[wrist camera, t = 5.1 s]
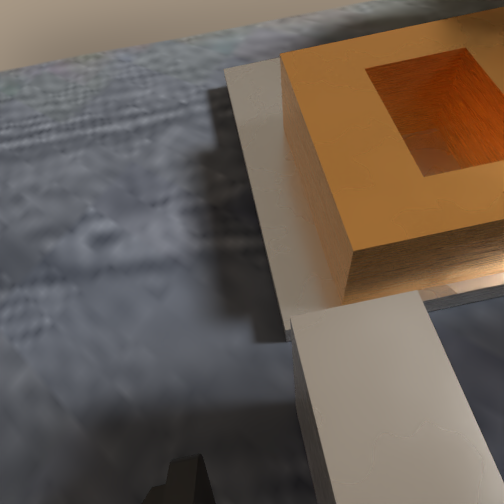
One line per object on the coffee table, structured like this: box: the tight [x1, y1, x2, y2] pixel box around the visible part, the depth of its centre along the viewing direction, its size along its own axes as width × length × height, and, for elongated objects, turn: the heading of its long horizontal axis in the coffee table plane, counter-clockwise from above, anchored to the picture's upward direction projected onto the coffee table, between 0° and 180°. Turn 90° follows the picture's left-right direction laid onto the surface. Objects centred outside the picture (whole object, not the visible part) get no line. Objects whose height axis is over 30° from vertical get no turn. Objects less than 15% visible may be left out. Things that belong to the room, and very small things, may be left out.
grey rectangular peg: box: [290, 290, 504, 504], centre depth 11 cm, size 2×4×10 cm, turn 10°
